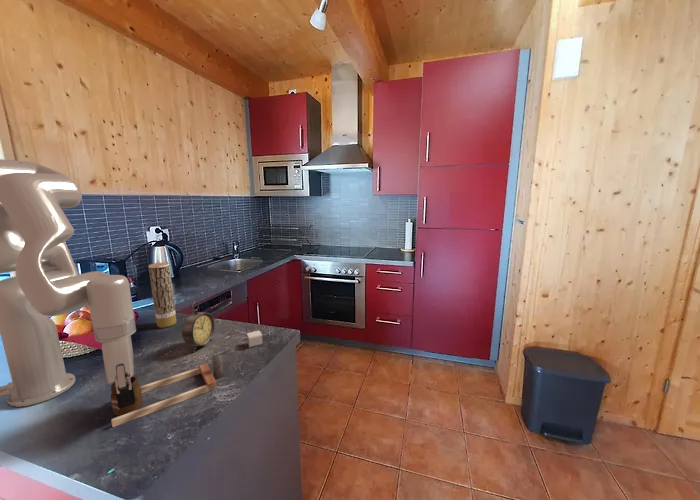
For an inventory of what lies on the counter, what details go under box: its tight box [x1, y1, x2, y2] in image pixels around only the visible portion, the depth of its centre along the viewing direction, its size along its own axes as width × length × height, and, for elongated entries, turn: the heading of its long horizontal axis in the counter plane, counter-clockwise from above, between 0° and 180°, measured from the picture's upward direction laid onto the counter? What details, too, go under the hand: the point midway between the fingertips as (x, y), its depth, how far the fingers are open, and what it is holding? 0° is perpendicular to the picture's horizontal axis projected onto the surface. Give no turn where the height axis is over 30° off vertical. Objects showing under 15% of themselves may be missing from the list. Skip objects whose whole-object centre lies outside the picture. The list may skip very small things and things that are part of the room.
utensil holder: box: [110, 373, 144, 417], centre depth 70 cm, size 6×6×12 cm
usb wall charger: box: [239, 330, 263, 348], centre depth 101 cm, size 4×7×4 cm, turn 121°
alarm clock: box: [181, 300, 215, 354], centre depth 99 cm, size 11×5×16 cm, turn 168°
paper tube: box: [148, 262, 177, 329], centre depth 115 cm, size 7×7×25 cm
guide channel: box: [110, 354, 224, 428], centre depth 77 cm, size 25×11×6 cm, turn 127°
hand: (127, 397), depth 71 cm, fingers closed on utensil holder, 5 cm apart
